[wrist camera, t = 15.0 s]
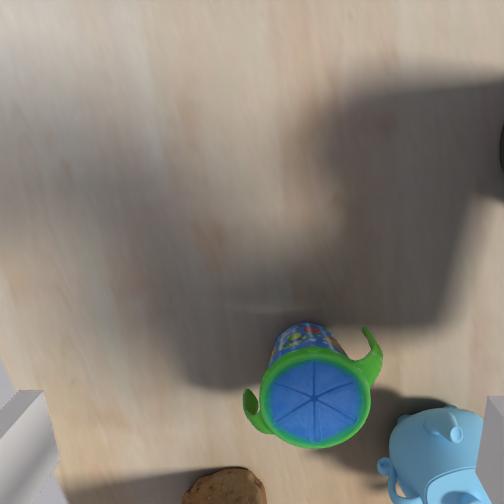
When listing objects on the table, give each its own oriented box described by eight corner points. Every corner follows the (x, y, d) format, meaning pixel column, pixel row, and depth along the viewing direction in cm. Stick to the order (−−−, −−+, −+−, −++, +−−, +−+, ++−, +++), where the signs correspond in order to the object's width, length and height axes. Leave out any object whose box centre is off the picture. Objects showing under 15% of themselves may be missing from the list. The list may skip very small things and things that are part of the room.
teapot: (432, 487, 53) (479, 577, 43) (347, 439, 51) (374, 522, 40) (499, 420, 51) (568, 499, 40) (412, 365, 48) (461, 433, 37)
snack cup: (264, 408, 50) (265, 474, 40) (225, 339, 48) (215, 391, 38) (383, 360, 48) (414, 417, 38) (348, 284, 46) (372, 325, 36)
